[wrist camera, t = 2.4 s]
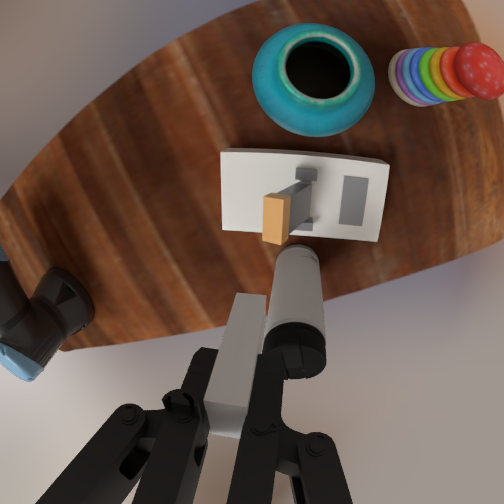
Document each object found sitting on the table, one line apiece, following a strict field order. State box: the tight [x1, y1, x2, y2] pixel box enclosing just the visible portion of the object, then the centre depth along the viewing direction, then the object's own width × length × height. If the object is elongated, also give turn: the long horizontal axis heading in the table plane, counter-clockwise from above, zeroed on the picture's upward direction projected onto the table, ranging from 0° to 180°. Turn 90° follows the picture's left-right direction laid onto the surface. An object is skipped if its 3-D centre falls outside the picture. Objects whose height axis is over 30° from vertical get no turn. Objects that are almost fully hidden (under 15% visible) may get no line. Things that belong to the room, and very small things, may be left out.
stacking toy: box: [388, 42, 504, 107], centre depth 19 cm, size 8×8×19 cm
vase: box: [252, 23, 375, 137], centre depth 23 cm, size 11×11×19 cm
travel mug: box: [262, 244, 326, 380], centre depth 34 cm, size 6×7×20 cm
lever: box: [262, 180, 312, 245], centre depth 30 cm, size 2×4×9 cm, turn 179°
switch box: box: [221, 148, 390, 242], centre depth 35 cm, size 20×10×6 cm, turn 89°
